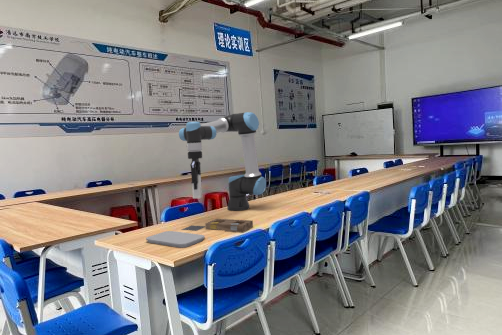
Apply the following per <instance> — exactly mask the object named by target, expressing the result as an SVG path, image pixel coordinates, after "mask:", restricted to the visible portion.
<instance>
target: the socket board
mask: <svg viewBox="0 0 502 335" xmlns="http://www.w3.org/2000/svg"><path fill="white" fill-rule="evenodd" d="M204 226H205V227H204V228H205V230H209V231H221V232H222V231H223V232H228V233H229V232H230V233H245V232H247V231H248V230H251V229H252V228H253V227H254V222H253V220H249V219H248V220H247V219H246V220H245V219H233V218H232V219H230V218H215V219H212V220H211V221H208V222H205V224H204Z"/></svg>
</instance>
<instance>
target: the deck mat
mask: <svg viewBox="0 0 502 335" xmlns="http://www.w3.org/2000/svg"><path fill="white" fill-rule="evenodd" d="M204 228H205V225H188V226H187V227H184V228H182V229H180V230H182V231H191V232H192V231H193V232H198V231H200V230H202V229H204Z"/></svg>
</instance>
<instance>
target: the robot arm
mask: <svg viewBox="0 0 502 335" xmlns="http://www.w3.org/2000/svg"><path fill="white" fill-rule="evenodd" d="M259 125H260V121H259V118H258V117H257V115H256V114H255V113H254V112H251V111H249V112H248V111H247V112H239V113H231V114H229V115H225V116H222V117H219V118H218V119H216V120H213V121H208V122H206V123H205V122H204V123H202V124H201V122H200V121H188V122H187V123H186V125H185V127H183V128H181V129H179V131H178V137H179V139H180V140H182V142H186V144H187V145H186V148H187V151H188V152H187V159H188V160H191V163H190V164H189V165H190V176H191V184H192V183H193V190H194V196H198V195H199V185H198V174H199V175H201V176H202V173H201V171H202V170H201V164H202V163H201V162H200V160H199V159H203V152H202V150H203V148H202V147H203V146H202V141H206V140H208V141H210V140H214V139H215V138H216V137H217V134H218V133H228V132H229V133H230V132H231V133H232V132H236V133H237V132H238V134H237V135H238V136H240V138H241V146H242V147H241V148H242V154H243V161H244V168H245V173H244V174H240V175H238V174H237V175H232V176H230V177H228V197H229V199H228V203H227V211H231V212H232V211H233V212H239V211H246V210H249V209H250V203H249V200H248V198H247V195H254V196H256V195H257V196H259V195H262V194H263V193H264V192H265V190H266V188H267V179H265V177H264V176H262V173H261V171H260V170H259V165H258V164H259V163H258V162H259V161H258V154H257V146H256V140H255V139H256V138H255V135H256V133H257V130H258V129H259ZM201 183H202V179H201ZM193 190H192V191H193Z"/></svg>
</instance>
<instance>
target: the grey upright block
mask: <svg viewBox="0 0 502 335" xmlns="http://www.w3.org/2000/svg"><path fill="white" fill-rule="evenodd" d="M201 180H202V174H201V175H199V174H198V185H199V195H198V196H194V190H193V183H191V188H192V199H202V198H203V192H202V182H201Z"/></svg>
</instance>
